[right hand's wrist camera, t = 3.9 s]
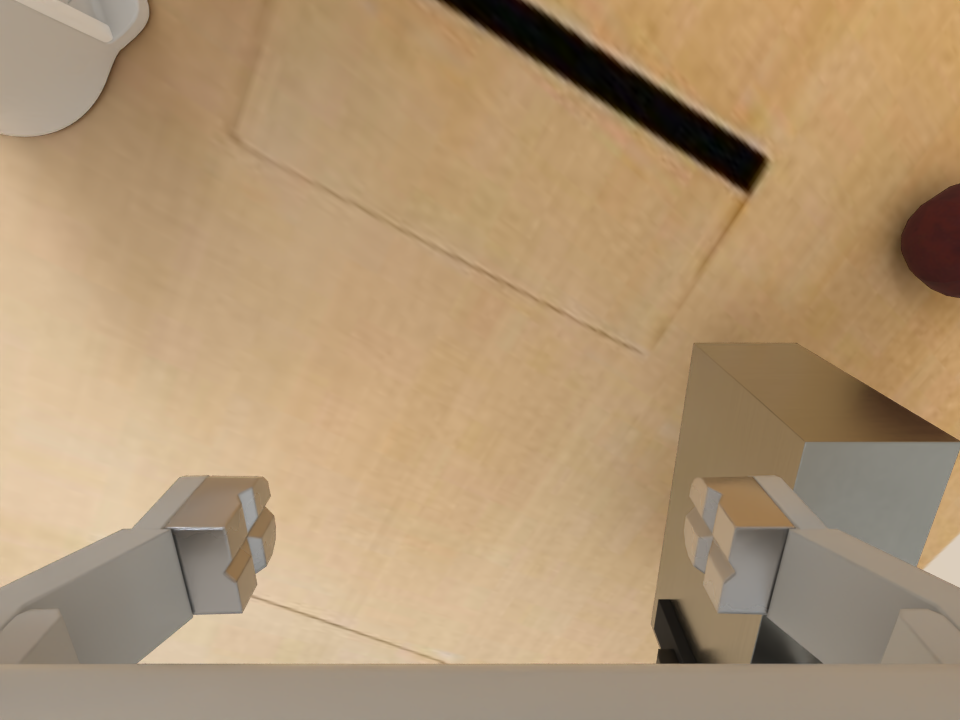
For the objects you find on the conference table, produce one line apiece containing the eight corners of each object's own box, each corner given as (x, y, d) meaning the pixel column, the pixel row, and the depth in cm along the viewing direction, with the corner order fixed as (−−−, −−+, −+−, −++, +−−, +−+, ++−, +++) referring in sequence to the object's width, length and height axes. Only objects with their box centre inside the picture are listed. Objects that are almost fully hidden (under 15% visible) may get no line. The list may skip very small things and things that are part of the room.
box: (693, 342, 33) (805, 442, 21) (796, 342, 33) (963, 442, 21) (650, 623, 41) (715, 803, 30) (733, 623, 41) (830, 802, 30)
